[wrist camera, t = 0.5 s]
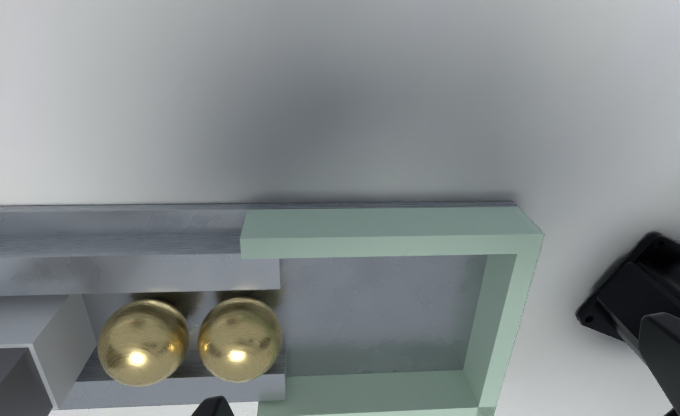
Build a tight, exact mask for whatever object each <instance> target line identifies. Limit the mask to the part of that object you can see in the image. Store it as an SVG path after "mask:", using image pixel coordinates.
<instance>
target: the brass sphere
mask: <svg viewBox="0 0 680 416" xmlns="http://www.w3.org/2000/svg"><path fill="white" fill-rule="evenodd" d="M189 343H190V332H189V327H188V324H187V321H186V319H185V317H184V316H183V314H182V313H181V312H180V311H179V310H178V309H177V308H176V307H174V306H173V305H171V304H170V303H168V302H165V301H162V300H158V299H141V300H136V301H133V302H130V303H128V304H126V305H124V306H122V307H121V308H119V309H118V310H117V311H116V312H114V313H113V314H112V315H111V316H110V317H109V319H108V320H107V321H106V323H105V324H104V326H103V328H102V330H101V333H100V336H99V339H98V357H99V360H100V363H101V365H102V367H103V369H104V370H105V372H106V373H107V374H108V375H109V376H110V377H111V378H113V379H114V380H115V381H117V382H119V383H121V384H124V385H127V386H133V387H142V386H149V385H153V384H156V383H158V382H160V381H162V380H164V379H166V378H167V377H169V376H170V375H171V374H172V373H174V372H175V371H176V370H177V368H178V367H179V366H180V365H181V363H182V362H183V360H184V358H185V356H186V354H187V351H188V348H189Z"/></svg>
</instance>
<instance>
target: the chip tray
mask: <svg viewBox="0 0 680 416" xmlns="http://www.w3.org/2000/svg"><path fill="white" fill-rule="evenodd" d="M543 238H544V233H543V232H542V231H541V230H540V229H539V228H538V227H537V226H536V225H535V224H534V223H533V222H532V220H531V219H530V218H529V217H528V216H527V215H526V214H525V213H524V212H523V211H522V210H521V209H520V208H519V207H448V208H354V209H260V210H247V213H246V217H245V220H244V224H243V228H242V232H241V236H240V248H241V258H242V259H275V258H328V257H380V256H433V255H485V254H488V257H487V261H486V266H485V271H484V275H483V280H482V284H481V289H480V294H479V298H478V303H477V307H476V312H475V317H474V321H473V326H472V331H471V335H470V340H469V344H468V349H467V354H466V358H465V363H464V368H463V370H446V371H421V372H396V373H370V374H345V375H319V376H294V377H287V387H286V400H276V401H259V403H258V412H257V416H494V413H495V409H496V405H497V402H498V398H499V395H500V391H501V388H502V384H503V380H504V377H505V373H506V370H507V366H508V363H509V359H510V356H511V352H512V348H513V345H514V341H515V338H516V334H517V331H518V327H519V323H520V320H521V316H522V313H523V309H524V306H525V302H526V299H527V295H528V291H529V288H530V284H531V281H532V277H533V274H534V270H535V266H536V263H537V259H538V256H539V252H540V249H541V245H542V242H543Z"/></svg>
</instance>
